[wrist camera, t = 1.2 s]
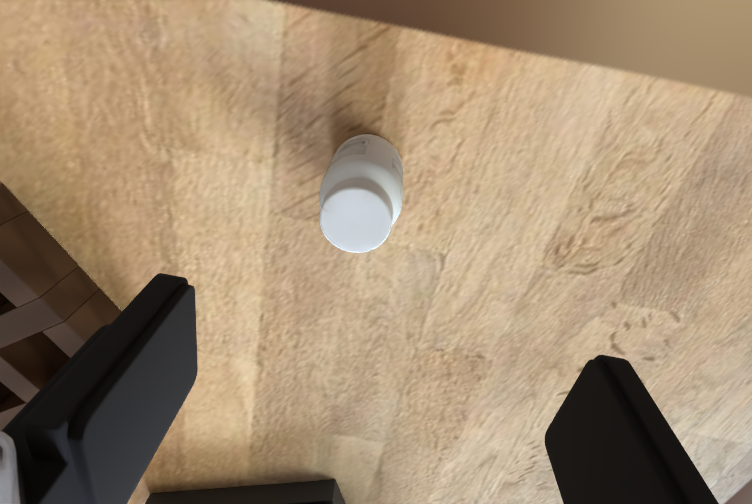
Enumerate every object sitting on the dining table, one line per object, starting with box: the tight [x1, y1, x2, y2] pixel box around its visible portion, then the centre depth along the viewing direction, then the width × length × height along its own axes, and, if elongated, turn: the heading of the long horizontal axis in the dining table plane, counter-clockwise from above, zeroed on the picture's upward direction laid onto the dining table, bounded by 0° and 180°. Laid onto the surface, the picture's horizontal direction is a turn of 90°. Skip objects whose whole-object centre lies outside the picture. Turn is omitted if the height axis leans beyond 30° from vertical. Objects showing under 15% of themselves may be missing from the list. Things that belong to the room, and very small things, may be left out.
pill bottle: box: [319, 134, 403, 253], centre depth 23 cm, size 4×4×8 cm
